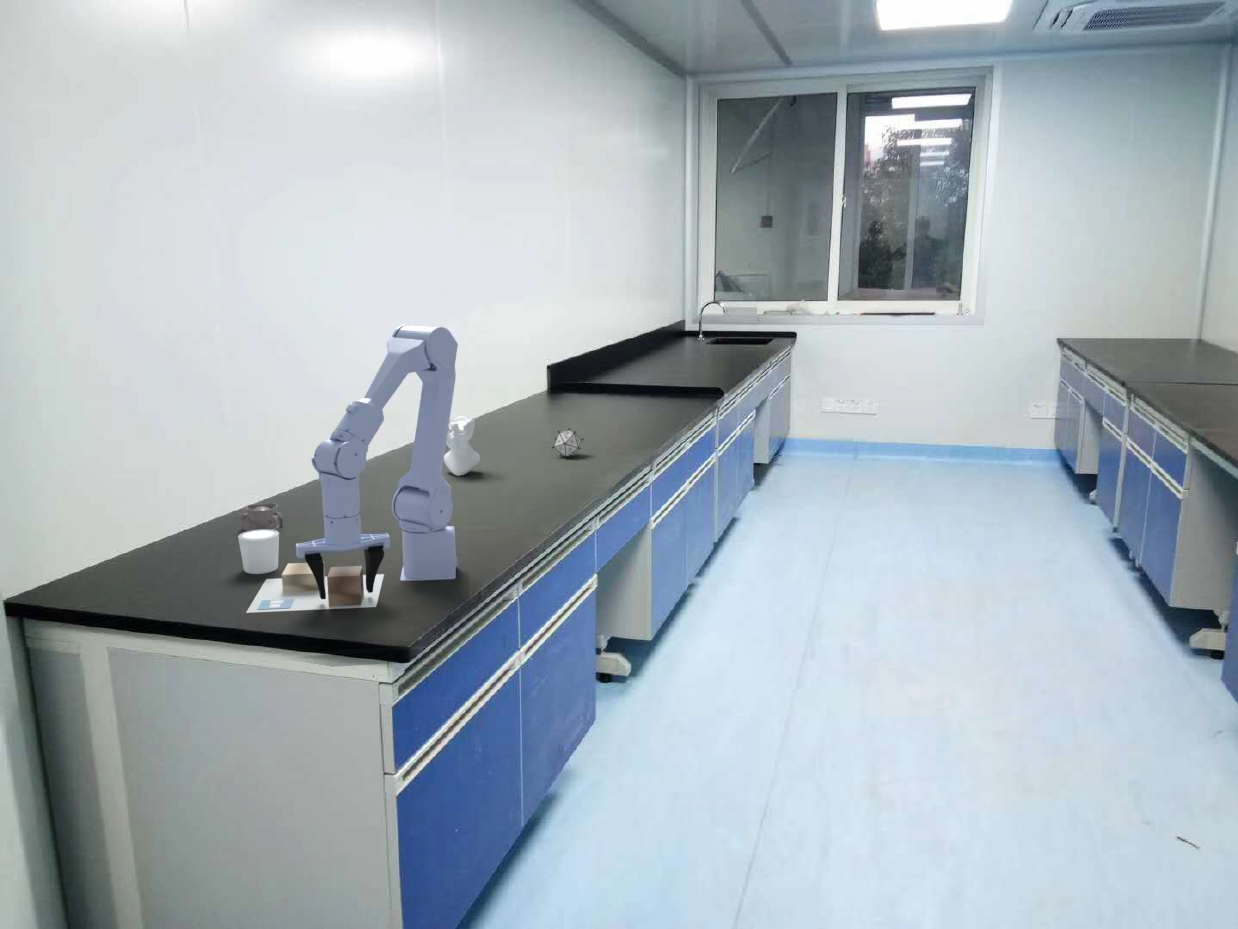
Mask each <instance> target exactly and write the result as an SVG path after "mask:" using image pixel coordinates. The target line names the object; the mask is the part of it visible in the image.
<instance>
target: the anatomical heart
mask: <svg viewBox="0 0 1238 929" xmlns="http://www.w3.org/2000/svg"><path fill="white" fill-rule="evenodd" d="M475 426H476V421H475V420H474V418H473V417H471V418H469V419H468V417H466V416H463V415H460V416H457V417H456V418H455V419H454V418H453V419H452V418H450V420H449V427H448V434H447V441H446V446H447V447H448V448H449V450H448V452H445V455H444V461H443V463H444V464H445V466H446V467H447V468H448V470H449V472H451V473H452V474H453V475H454V476H457V477H461V475H462V476H464V475H466V474H468V473H469V472H470V471H472V470H473V469H474V468H475V467H476V466H478V464H479V463H480V462H481V456H480V454H479V453H478V452H477V451H475V450H474V449H473V447H472V446H471V445H470V442H469V441H470V440H471V439H472V438H473V435H474V432H475V431H474V430H475Z"/></svg>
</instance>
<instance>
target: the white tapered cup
mask: <svg viewBox="0 0 1238 929" xmlns="http://www.w3.org/2000/svg"><path fill="white" fill-rule="evenodd" d="M237 539H238V545H239V549H240V554H241V560H242V566H243V571H244V572H245V573H247V574H252V575H260V574H262V575H263V574H267V573H272V572H274V571H276V570H278V568H279V550H280V549H279V547H280V546H279V543H280V532H279V531H278V530H277V529H276V530H270V529H259V530H251V531H247V532H246V531H243V532H242V533H240V534H238V536H237Z"/></svg>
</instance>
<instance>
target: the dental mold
mask: <svg viewBox="0 0 1238 929" xmlns="http://www.w3.org/2000/svg"><path fill="white" fill-rule="evenodd" d="M245 510H246V513H245V512H244V513H242V514H241V530H242V529H243V530H242V531H244V530H245V531H244V532H247V531H251V530H259V529H270V530H276V531H277V529H279V528H281V527H284V521H283V520H284V519H283V514H282V513H281V512H278V510H279V509H278V503H275V502H268V503H267V502H266V503H255V504H248V505H246V507H245Z"/></svg>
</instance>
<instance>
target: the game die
mask: <svg viewBox="0 0 1238 929" xmlns="http://www.w3.org/2000/svg"><path fill="white" fill-rule="evenodd" d="M556 431H557V433H558V434H557V436H556V437H555V438H554V439H555V442H554V444H553V445H554V446H551V448H550V449H555V450H556V451H557V452H558V453H559V454H561V456H564V458H565V457H566V456H567V457H571V456H570V455H572V456H575V455H574V454H577V455H578V451H580V450H582V449H581V447H580V446H581V442H582V441H584V438H580V437H579V436H578V434H576V433H577V431H576V430H575V431H572V430H571V428H570V427H569V428H568V430H564V431H560V430H556Z"/></svg>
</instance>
